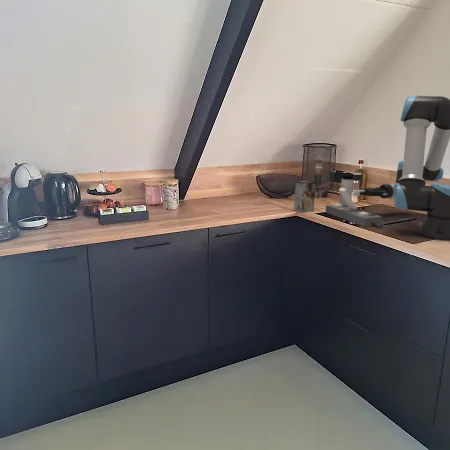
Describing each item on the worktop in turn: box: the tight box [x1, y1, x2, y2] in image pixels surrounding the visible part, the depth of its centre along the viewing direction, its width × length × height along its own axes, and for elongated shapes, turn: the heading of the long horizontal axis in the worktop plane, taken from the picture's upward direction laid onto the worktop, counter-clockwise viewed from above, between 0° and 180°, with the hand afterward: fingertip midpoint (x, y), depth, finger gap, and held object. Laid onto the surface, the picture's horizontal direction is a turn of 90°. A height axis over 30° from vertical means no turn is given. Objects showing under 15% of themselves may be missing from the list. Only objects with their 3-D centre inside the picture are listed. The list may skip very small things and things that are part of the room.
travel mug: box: [338, 171, 355, 205], centre depth 241 cm, size 6×7×20 cm
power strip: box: [325, 203, 384, 229], centre depth 216 cm, size 36×11×5 cm, turn 24°
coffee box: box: [293, 180, 317, 213], centre depth 230 cm, size 9×6×16 cm
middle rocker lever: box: [338, 187, 358, 211], centre depth 215 cm, size 4×2×14 cm
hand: (353, 193), depth 215 cm, fingers closed
